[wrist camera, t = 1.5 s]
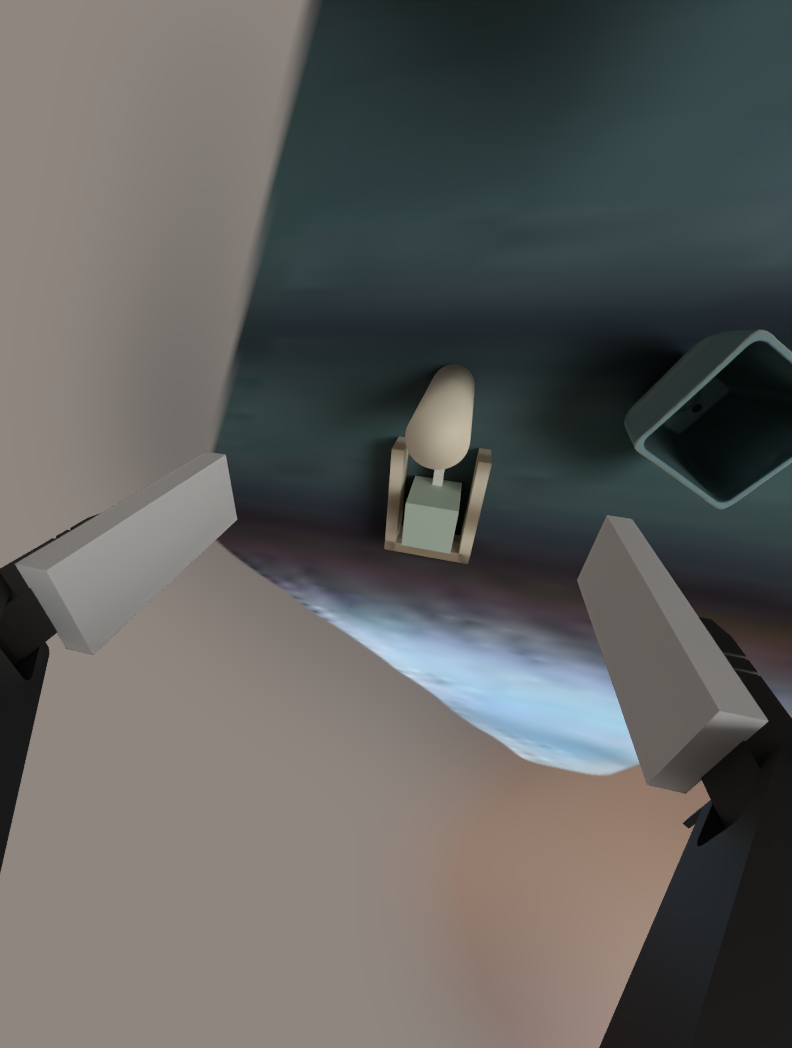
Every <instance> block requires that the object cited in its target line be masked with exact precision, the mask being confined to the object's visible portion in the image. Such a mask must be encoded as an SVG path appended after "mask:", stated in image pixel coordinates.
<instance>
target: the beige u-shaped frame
mask: <svg viewBox="0 0 792 1048" xmlns="http://www.w3.org/2000/svg"><path fill="white" fill-rule="evenodd" d="M408 455H409V452H408V450H407V447H406V443H405V437H400V436H399V437H398V439H397V440H396V442H395V444H394V446H393V448H392V453H391V467H390V480H389V494H388V508H387V522H386V535H385V549H388V550H393V551H399V552H404V553H410V554H415V555H421V556H426V557H432V558H437V559H443V560H448V561H454V562H459V563H465V564H468V562H469V557H470V553H471V549H472V545H473V541H474V536H475V532H476V528H477V524H478V519H479V515H480V511H481V507H482V503H483V498H484V494H485V490H486V486H487V482H488V477H489V473H490V469H491V465H492V458H491V450H490V449H483V448H479V450H478V455H477V460H476V465H475V469H474V474H473V479H472V483H471V488H470V493H469V498H468V502H467V507H466V512H465V517H464V521H463V526H462V531H461V535H455V534H454V538H453V543H452V548H451V553H450V554H448V553H443V552H437V551H432V550H426V549H421V548H415V547H410V546H404V545H401V544H402V535H403V525H402V515H403V505H404V495H405V485H406V475H407V465H408Z"/></svg>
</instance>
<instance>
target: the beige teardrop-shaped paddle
mask: <svg viewBox="0 0 792 1048" xmlns="http://www.w3.org/2000/svg"><path fill="white" fill-rule="evenodd" d="M474 391H475V382H474V378H473V375H472V374H471V372H470V371H469V370H468V369H467V368H465V367H464V366H462V365H458V364H449V365H446V366H444V367H442V368H441V369H439V370H438V371H437V373H436V374H435V375H434V377H433V379H432V381H431V383H430V385H429V387H428V388H427V390H426V392H425V394H424V396H423V398H422V400H421V402H420V403H419V405H418V407H417V409H416V411H415V413H414V415H413V416H412V418H411V420H410V422H409V424H408V426H407V429H406V433H405V443H406V447H407V450H408V452H409V454H410V455H411V457H412V458H413V459H414V460H415V461H416V462H417V463H419V464H420V465H422V466H424V467H426V468H429V469H434V477H433V478H428V477H421V476H415V478H414V481H413V484H412V487H411V490H410V492H409V495H408V498H407V501H406V506H405V516H404V525H403V535H402V544H401V545H404V546H410V547H415V548H421V549H426V550H432V551H437V552H443V553H448V554H450V553H451V548H452V543H453V538H454V533H455V528H456V523H457V518H458V513H459V506H460V496H461V487H462V483H460V482H453V481H447V480H443V478H444V471H445V469H447V468H450V467H452V466H454V465H456V464H457V463H459V462H460V461H461V460H462V459H463V458H464V456H465V455H466V453H467V451H468V449H469V446H470V438H471V426H472V415H473V403H474Z"/></svg>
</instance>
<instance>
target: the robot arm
mask: <svg viewBox="0 0 792 1048" xmlns="http://www.w3.org/2000/svg"><path fill="white" fill-rule="evenodd" d="M236 520H237V516H236V510H235V505H234V499H233V494H232V488H231V482H230V477H229V471H228V466H227V460H226V455H224V454H218V453H211V452H204V453H203V454H201V455H199V456H198V457H196V458H194V459H193V460H191V461H189V462H187V463H186V464H184V465H182V466H181V467H179V468H177V469H176V470H174V471H172V472H170V473H169V474H167V475H165V476H164V477H162V478H161V479H158V480H157V481H155V482H153V483H152V484H150V485H148V486H147V487H145V488H143V489H141V490H140V491H138V492H136V493H135V494H133V495H131V496H130V497H128V498H126V499H125V500H123V501H121V502H119V503H118V504H116V505H114V506H112V507H111V508H109V509H107V510H106V511H104V512H102V513H100V514H97V515H95V516H92V517H89V518H87V519H85V520H83V521H82V522H80V523H78V524H76V525H75V526H73V527H71V529H70V530H66V531H64V532H63V533H61V534H59V535H57V536H56V539H53V538H52V539H50V540H49V541H47V542H45V543H44V544H42V545H40V546H38V547H37V548H35V549H33V550H31V551H30V552H28V553H26V554H25V555H23V556H21V557H19V558H18V559H16V560H14V561H13V562H11V563H9V564H8V565H6V566H4V567H2V568H0V871H1V867H2V863H3V858H4V854H5V849H6V845H7V841H8V836H9V832H10V827H11V823H12V818H13V814H14V809H15V805H16V800H17V796H18V791H19V787H20V782H21V778H22V774H23V769H24V764H25V760H26V756H27V751H28V747H29V742H30V738H31V734H32V729H33V724H34V720H35V716H36V711H37V707H38V702H39V697H40V694H41V689H42V685H43V680H44V676H45V671H46V666H47V662H48V658H49V647H48V646H47V644H46V641H47V640H48V639H50V638H51V637H52V636H53V635H54V634H56V633H57V634H58V636H59V637H60V639H61V640H62V642H63V644H64V645H65V647H66V649H69V650H73V651H78V652H82V653H86V654H91V655H94V654H95V653H96V652H97V651H98V650H100V649H101V648H102V647H103V646H104V645H105V644H106V643H107V642H108V641H109V640H110V639H111V638H112V637H113V636H114V635H115V634H116V633H118V632H119V631H120V630H121V629H122V628H123V627H124V626H125V625H126V624H127V623H128V622H129V621H130V620H131V619H132V618H133V617H134V616H136V614H138V613H139V612H140V611H141V610H142V609H143V608H144V607H145V606H146V605H147V604H148V603H149V602H150V601H151V600H152V599H154V598H155V597H156V596H157V595H158V594H159V593H160V592H161V591H162V590H163V589H164V588H165V587H166V586H167V585H168V584H169V583H170V582H172V581H173V580H174V579H175V578H176V577H177V576H178V575H179V574H180V573H181V572H182V571H183V570H184V569H185V568H186V567H187V566H188V565H190V563H192V562H193V561H194V560H195V559H196V558H197V557H198V556H199V555H200V554H201V553H202V552H203V551H204V550H205V549H206V548H208V547H209V546H210V545H211V544H212V543H213V542H214V541H215V540H216V539H217V538H218V537H219V536H220V535H221V534H222V533H223V532H224V531H226V530H227V529H228V528H229V527H230V526H231V525H232V524H233V523H234V522H235V521H236ZM577 581H578V584H579V587H580V590H581V593H582V596H583V599H584V602H585V605H586V608H587V611H588V614H589V617H590V619H591V622H592V625H593V628H594V631H595V634H596V637H597V640H598V643H599V646H600V649H601V652H602V654H603V657H604V660H605V663H606V666H607V669H608V672H609V675H610V678H611V681H612V684H613V687H614V690H615V692H616V695H617V698H618V701H619V704H620V707H621V710H622V713H623V716H624V719H625V722H626V725H627V728H628V730H629V733H630V736H631V739H632V742H633V745H634V748H635V751H636V754H637V757H638V760H639V763H640V766H641V768H642V771H643V774H644V777H645V780H646V783H647V785H651V786H655V787H659V788H664V789H668V790H672V791H677V792H681V793H685V794H686V793H687V792H688V791H690V790H691V789H692V788H693V787H694V786H695V785H696V784H698V783H699V782H700V781H701V780H702V781H703V784H704V786H705V787H706V790H707V792H708V795H709V797H710V799H711V800H710V801H709V802H708V803H706V804H705V805H704V806H703V807H701V808H700V809H699V810H698V811H696V812H695V813H694V814H693V815H691V816H690V817H689V818H688V819H687V820H686V821H685V822H684V823H683V824H684V825H685V826H686V827H688V828H690V827H692V826H693V825H694V824H695V826H694V828H693V831H692V833H691V835H690V838H689V840H688V842H687V844H686V847H685V849H684V851H683V854H682V856H681V858H680V861H679V863H678V865H677V868H676V870H675V872H674V875H673V877H672V879H671V882H670V884H669V887H668V889H667V891H666V893H665V896H664V898H663V900H662V903H661V905H660V907H659V910H658V912H657V914H656V917H655V919H654V921H653V924H652V926H651V928H650V931H649V933H648V935H647V938H646V940H645V942H644V945H643V947H642V949H641V952H640V954H639V957H638V959H637V961H636V963H635V966H634V968H633V970H632V972H631V975H630V977H629V980H628V982H627V984H626V987H625V989H624V991H623V994H622V996H621V998H620V1001H619V1003H618V1005H617V1007H616V1010H615V1012H614V1014H613V1017H612V1019H611V1022H610V1024H609V1026H608V1029H607V1031H606V1033H605V1035H604V1038H603V1040H602V1043H601V1045H600V1047H599V1048H792V718H791V717H790V716H789V714H788V713H787V712H786V710H785V709H784V707H783V706H782V705H781V703H780V702H779V701H778V699H777V698H776V697H775V695H774V694H773V692H772V691H771V690H770V688H769V687H768V686H767V684H766V683H765V682H764V680H763V679H762V677H761V676H758V675H757V671H756V669H755V668H754V667H753V665H752V664H751V663H750V661H749V660H746V659H745V657H746V656H745V654H744V653H743V652H742V650H741V649H740V648H739V646H738V645H737V643H736V642H735V641H734V639H733V638H732V637H731V636H730V635H729V634H728V633H726V632H725V631H724V630H723V629H722V628H721V627H719V626H718V625H717V624H716V623H715V622H714V621H712V620H711V619H706V618H701V617H698V616H697V614H696V613H695V611H694V610H693V608H692V607H691V605H690V604H689V602H688V601H687V600H686V598H685V597H684V595H683V594H682V592H681V591H680V589H679V588H678V586H677V585H676V583H675V582H674V580H673V579H672V577H671V576H670V574H669V573H668V571H667V570H666V568H665V567H664V566H663V564H662V563H661V561H660V560H659V558H658V557H657V555H656V554H655V552H654V551H653V549H652V548H651V546H650V545H649V543H648V542H647V540H646V539H645V537H644V536H643V534H642V533H641V532H640V530H639V529H638V527H637V526H636V524H635V523H634V521H633V520H632V519H628V518H621V517H615V516H609V515H607V516H606V519H605V521H604V523H603V525H602V527H601V529H600V532H599V534H598V536H597V538H596V540H595V543H594V545H593V547H592V549H591V551H590V553H589V556H588V558H587V560H586V562H585V564H584V566H583V569H582V571H581V573H580V575H579V577H578V580H577Z"/></svg>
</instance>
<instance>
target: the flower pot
mask: <svg viewBox="0 0 792 1048" xmlns="http://www.w3.org/2000/svg"><path fill="white" fill-rule="evenodd" d="M696 405H700V409H699V410H697V411H694V410H693V408H694V406H696ZM624 425H625V428H626V431H627V433H628V435H629V437H630V440H631V442H632V444H633V446H634V448H635V450H636V451H637V452H639V453H640V454H641V455H643V456H644V457H646V458H647V459H649V460H650V461H652V462H653V463H654V464H656V465H657V466H659V467H660V468H661V469H663V470H664V471H666V472H667V473H668V474H670V475H671V476H673V477H674V478H676V479H677V480H678V481H680V482H681V483H682V484H684V485H685V486H687V487H688V488H689V489H691V490H692V491H693V492H695V493H696V494H697V495H699V496H700V497H701V498H703V499H704V500H705V501H707V502H708V503H709V504H711V505H712V506H714V507H715V508H717V509H724V508H726V507H729V506H730V505H732V504H734V503H735V502H737V501H738V500H740V499H741V498H742V497H744V496H745V495H747V494H748V493H750V492H751V491H752V490H754V489H755V488H756V487H758V486H759V485H760V484H762V483H763V482H765V481H766V480H767V479H769V478H770V477H772V476H773V475H775V474H776V473H778V472H779V471H780V470H782V469H783V468H785V467H786V466H788V465H789V464H790V463H792V352H791V351H790V350H789V349H787V348H786V347H785V346H784V345H783V344H782V343H781V342H780V341H779V340H777V339H776V338H775V337H774V336H773V335H772V334H770V333H769V332H767V331H765V330H747V331H731V332H721V333H716V334H713V335H710V336H708V337H706V338H704V339H702V340H700V341H699V342H698V343H696V344H695V345H694V346H693V347H692V348H690V349H689V350H688V351H687V352H686V353H685V354H684V355H683V356H682V357H681V358H680V359H679V360H678V361H677V362H676V363H675V364H674V365H673V366H672V367H671V368H670V369H669V370H668V371H667V372H666V373H665V374H664V375H663V376H662V377H661V378H660V379H659V380H658V381H657V382H656V383H655V384H654V385H653V386H652V387H651V388H650V389H649V390H648V391H647V392H646V393H645V394H644V395H643V396H642V397H641V398H640V399H639V400H638V401H637V402H636V403H635V404H634V405H633V406H632V407H631V408H630V409H629V411H628V412H627V414H626V416H625V420H624Z"/></svg>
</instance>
